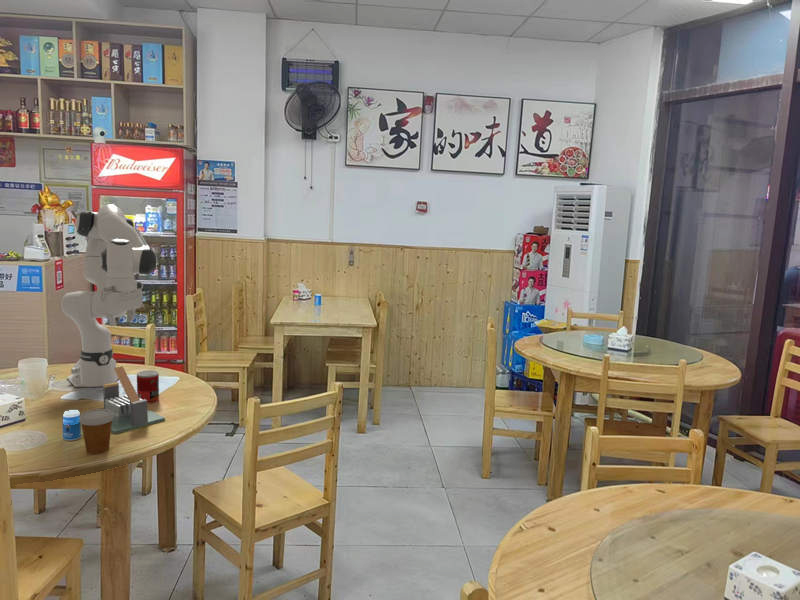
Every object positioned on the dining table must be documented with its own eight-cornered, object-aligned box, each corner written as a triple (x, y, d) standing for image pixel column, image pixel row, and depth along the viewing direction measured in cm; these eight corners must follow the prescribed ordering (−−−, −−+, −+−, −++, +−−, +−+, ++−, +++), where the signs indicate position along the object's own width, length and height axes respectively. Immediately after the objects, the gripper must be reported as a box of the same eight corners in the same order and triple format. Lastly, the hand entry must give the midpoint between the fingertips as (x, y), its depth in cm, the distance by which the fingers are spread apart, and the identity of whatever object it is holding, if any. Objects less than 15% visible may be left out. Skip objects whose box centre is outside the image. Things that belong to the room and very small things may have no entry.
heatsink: (104, 416, 210) (103, 399, 210) (131, 409, 218) (131, 393, 217) (118, 423, 204) (117, 406, 204) (145, 416, 212) (145, 400, 211)
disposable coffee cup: (111, 455, 181) (110, 418, 180) (77, 457, 179) (75, 420, 177) (117, 443, 190) (116, 407, 189) (84, 445, 188) (82, 409, 186)
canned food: (154, 403, 228) (153, 376, 226) (133, 402, 228) (132, 375, 226) (162, 397, 236) (161, 371, 234) (142, 396, 236) (142, 369, 234)
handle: (112, 370, 211) (114, 367, 210) (121, 369, 213) (122, 366, 212) (132, 408, 204) (133, 405, 204) (140, 406, 207) (141, 403, 206)
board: (82, 415, 212) (81, 387, 211) (130, 404, 226) (130, 377, 225) (115, 433, 198) (114, 403, 196) (165, 420, 212) (164, 391, 210)
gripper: (109, 288, 198) (110, 329, 199) (145, 283, 218) (146, 320, 219) (92, 287, 199) (94, 328, 200) (130, 282, 219) (130, 319, 220)
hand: (121, 323), depth 210 cm, fingers open, 8 cm apart
